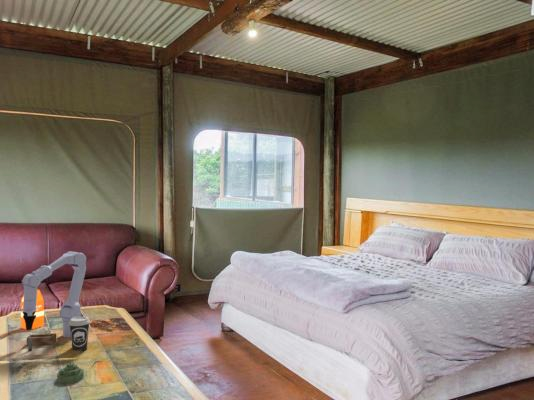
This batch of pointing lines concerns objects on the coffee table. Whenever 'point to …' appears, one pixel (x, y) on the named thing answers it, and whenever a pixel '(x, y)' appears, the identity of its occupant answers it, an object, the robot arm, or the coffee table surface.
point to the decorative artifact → (70, 374)
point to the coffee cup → (79, 332)
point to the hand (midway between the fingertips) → (28, 328)
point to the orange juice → (39, 312)
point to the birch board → (36, 350)
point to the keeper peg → (30, 345)
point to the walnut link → (42, 339)
